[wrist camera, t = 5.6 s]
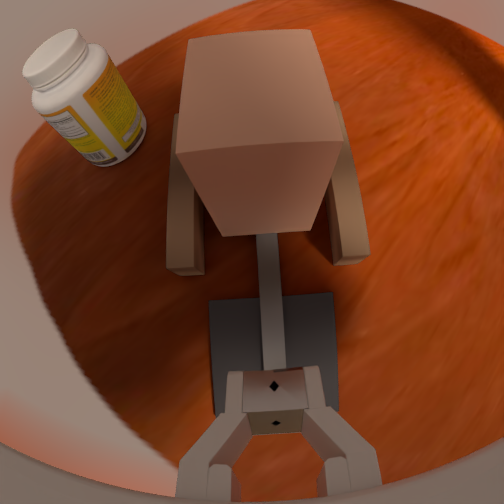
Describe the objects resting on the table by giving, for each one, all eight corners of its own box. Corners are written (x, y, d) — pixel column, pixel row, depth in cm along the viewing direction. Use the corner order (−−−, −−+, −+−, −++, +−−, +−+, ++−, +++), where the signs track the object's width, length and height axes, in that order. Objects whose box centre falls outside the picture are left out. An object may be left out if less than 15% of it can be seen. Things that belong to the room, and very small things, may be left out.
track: (366, 397, 15) (379, 407, 13) (187, 408, 16) (174, 420, 13) (309, 42, 22) (310, 21, 19) (192, 51, 22) (186, 31, 20)
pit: (337, 410, 15) (338, 411, 15) (216, 417, 15) (216, 419, 15) (331, 292, 17) (332, 291, 16) (209, 300, 17) (208, 300, 17)
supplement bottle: (139, 100, 21) (88, 9, 11) (157, 145, 20) (94, 41, 10) (83, 134, 21) (16, 58, 11) (93, 183, 20) (6, 105, 10)
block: (310, 230, 17) (343, 141, 8) (222, 236, 17) (175, 153, 8) (298, 142, 18) (310, 29, 10) (220, 147, 19) (188, 39, 10)
